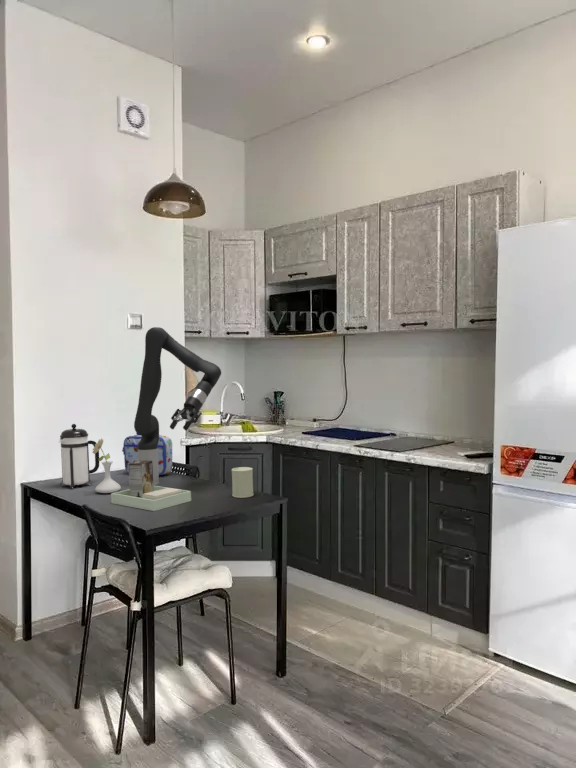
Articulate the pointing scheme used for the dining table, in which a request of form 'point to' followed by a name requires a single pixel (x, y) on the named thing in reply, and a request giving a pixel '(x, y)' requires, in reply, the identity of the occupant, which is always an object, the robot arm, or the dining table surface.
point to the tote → (148, 504)
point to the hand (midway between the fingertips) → (177, 428)
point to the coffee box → (140, 478)
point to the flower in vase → (107, 483)
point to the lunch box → (163, 452)
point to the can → (242, 482)
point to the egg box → (161, 493)
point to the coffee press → (76, 457)
